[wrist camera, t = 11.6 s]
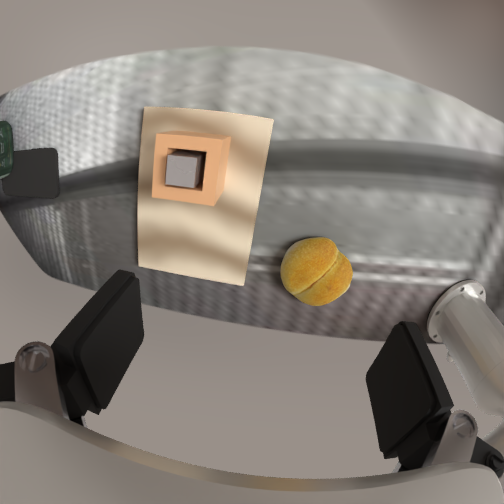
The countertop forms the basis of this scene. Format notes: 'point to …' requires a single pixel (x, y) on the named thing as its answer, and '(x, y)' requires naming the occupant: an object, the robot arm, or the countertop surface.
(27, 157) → the phone
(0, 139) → the coffee jar
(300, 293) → the bread roll
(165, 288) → the countertop surface
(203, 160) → the square shaft
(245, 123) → the base board
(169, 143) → the square hollow tube
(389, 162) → the countertop surface
